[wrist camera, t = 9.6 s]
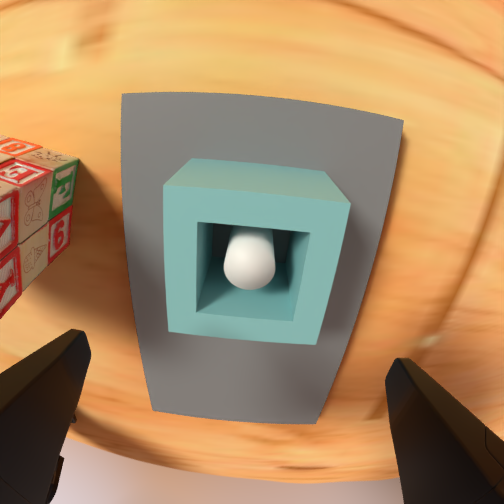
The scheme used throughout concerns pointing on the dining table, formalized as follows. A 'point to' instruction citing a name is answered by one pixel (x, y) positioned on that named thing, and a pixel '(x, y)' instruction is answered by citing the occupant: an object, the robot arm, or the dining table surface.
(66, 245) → the stack of blocks
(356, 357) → the dining table surface
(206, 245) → the teal hollow block
